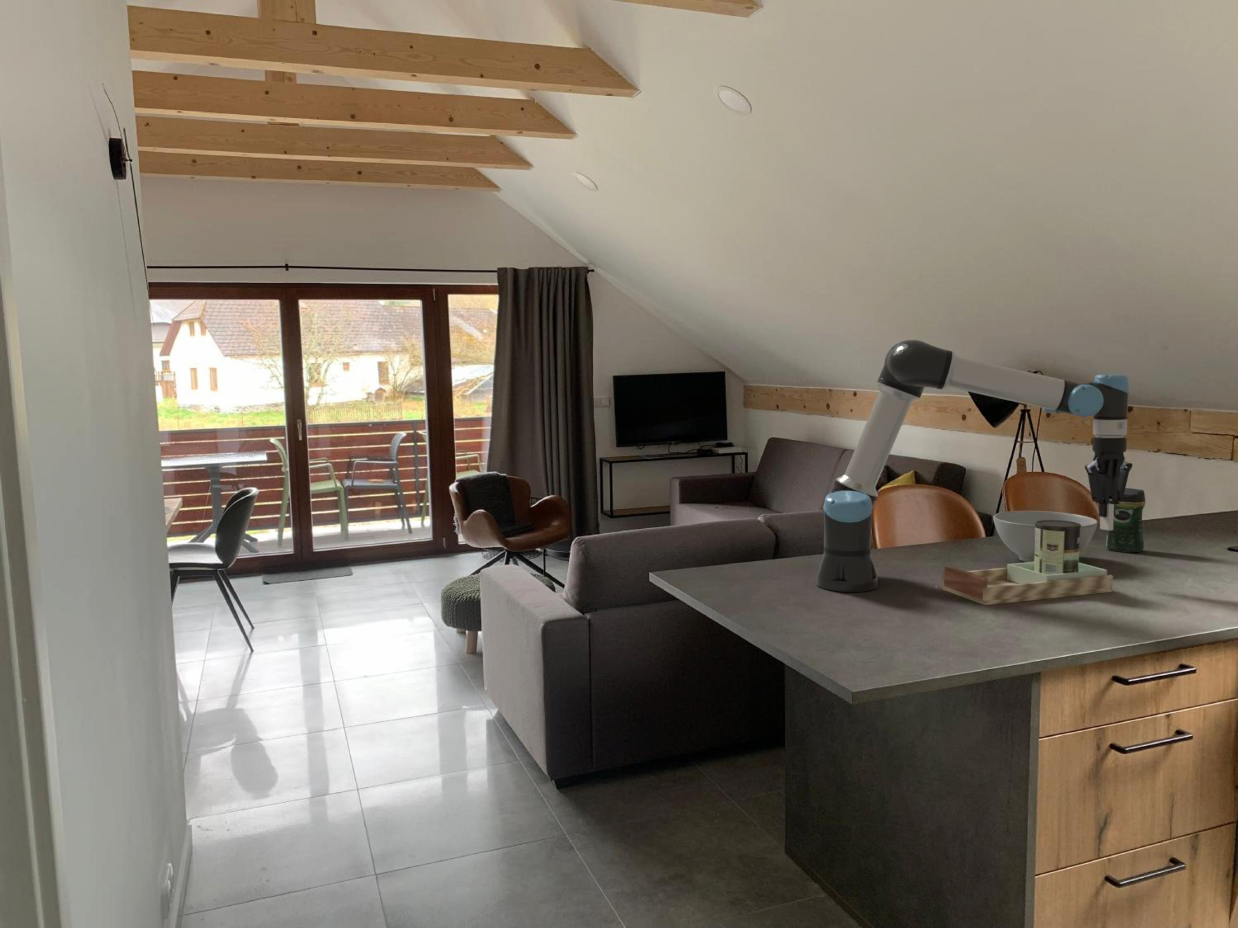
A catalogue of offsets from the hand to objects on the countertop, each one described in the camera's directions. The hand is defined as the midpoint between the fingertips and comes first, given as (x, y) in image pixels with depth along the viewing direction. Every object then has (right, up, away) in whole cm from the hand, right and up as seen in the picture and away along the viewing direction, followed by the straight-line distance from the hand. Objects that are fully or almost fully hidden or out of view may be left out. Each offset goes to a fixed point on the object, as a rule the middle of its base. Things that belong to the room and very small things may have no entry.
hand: (1106, 529), depth 234 cm
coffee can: (-14, -12, -3) cm, 19 cm away
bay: (-23, -15, -5) cm, 27 cm away
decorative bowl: (-3, -11, +28) cm, 30 cm away
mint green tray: (-14, -13, -3) cm, 19 cm away
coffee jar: (+27, -9, +40) cm, 49 cm away
